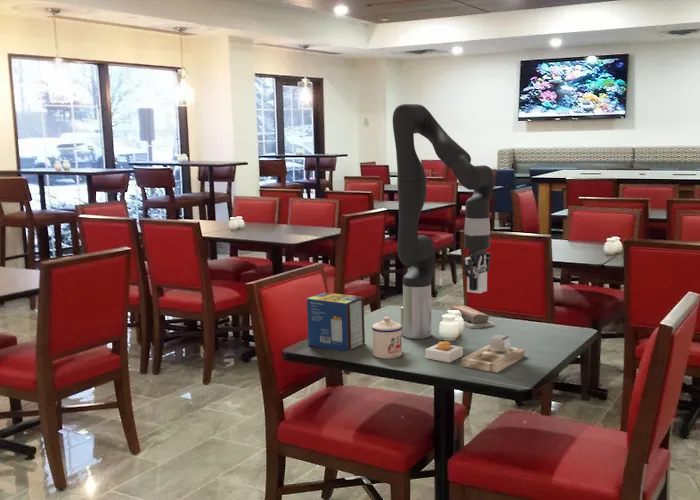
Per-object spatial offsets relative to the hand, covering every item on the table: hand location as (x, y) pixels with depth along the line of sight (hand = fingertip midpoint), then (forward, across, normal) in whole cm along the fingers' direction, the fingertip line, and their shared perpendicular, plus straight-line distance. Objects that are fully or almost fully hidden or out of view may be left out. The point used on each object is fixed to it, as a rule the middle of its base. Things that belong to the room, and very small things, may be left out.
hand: (476, 288), depth 218 cm
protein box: (+20, +19, -40) cm, 48 cm away
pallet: (+19, +9, +10) cm, 23 cm away
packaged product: (+20, -30, -18) cm, 40 cm away
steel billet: (+1, 0, 0) cm, 1 cm away
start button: (+16, +13, -4) cm, 21 cm away
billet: (+19, +4, +10) cm, 22 cm away
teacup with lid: (+19, +18, -20) cm, 33 cm away
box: (+19, +13, -4) cm, 23 cm away
